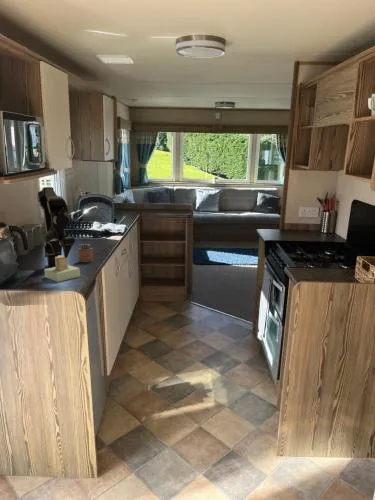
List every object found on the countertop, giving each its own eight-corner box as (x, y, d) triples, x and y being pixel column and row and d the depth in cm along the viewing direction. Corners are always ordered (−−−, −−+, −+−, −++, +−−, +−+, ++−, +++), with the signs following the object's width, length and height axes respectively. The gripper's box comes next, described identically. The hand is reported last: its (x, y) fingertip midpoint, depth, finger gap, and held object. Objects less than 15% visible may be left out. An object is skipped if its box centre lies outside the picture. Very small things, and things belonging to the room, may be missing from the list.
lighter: (94, 260, 219) (92, 243, 216) (92, 261, 215) (91, 244, 213) (79, 260, 218) (78, 243, 216) (78, 262, 215) (77, 244, 213)
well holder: (45, 277, 187) (44, 269, 186) (66, 271, 196) (66, 264, 195) (57, 281, 179) (57, 273, 179) (80, 276, 188) (79, 268, 187)
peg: (56, 276, 187) (54, 257, 185) (63, 275, 190) (62, 255, 188) (61, 278, 185) (59, 258, 183) (68, 276, 188) (66, 256, 186)
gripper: (32, 224, 182) (35, 256, 185) (52, 228, 170) (55, 262, 173) (53, 221, 190) (56, 252, 194) (74, 225, 178) (77, 258, 181)
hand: (60, 256), depth 185 cm, fingers open, 9 cm apart
